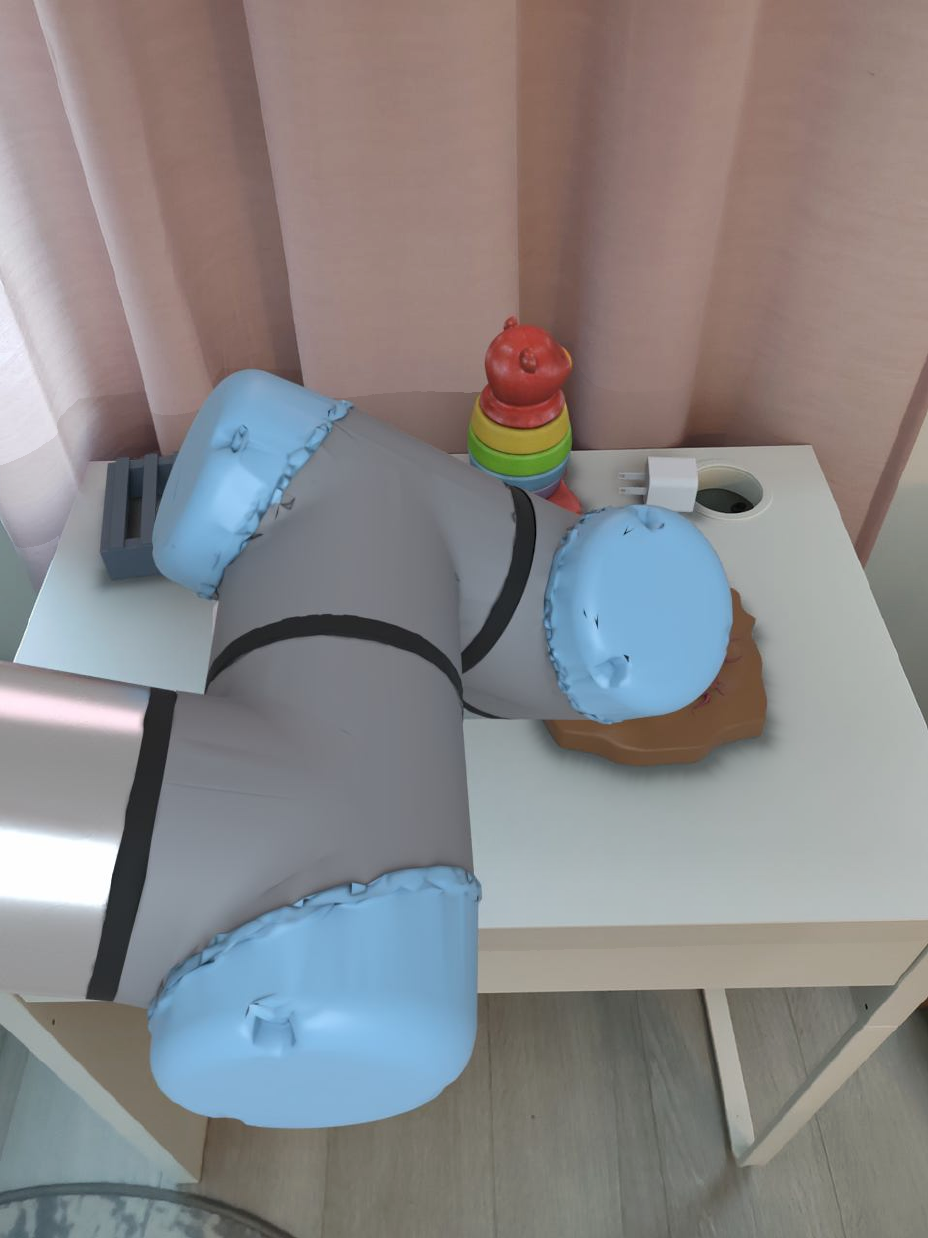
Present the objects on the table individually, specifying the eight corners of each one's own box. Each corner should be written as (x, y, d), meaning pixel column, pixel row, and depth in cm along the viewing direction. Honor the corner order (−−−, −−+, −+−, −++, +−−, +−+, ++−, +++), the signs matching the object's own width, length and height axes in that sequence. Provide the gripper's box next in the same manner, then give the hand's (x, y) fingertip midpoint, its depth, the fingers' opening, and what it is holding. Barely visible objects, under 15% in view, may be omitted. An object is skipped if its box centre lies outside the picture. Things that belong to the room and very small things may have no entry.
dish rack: (111, 580, 88) (98, 548, 85) (118, 491, 96) (106, 459, 93) (292, 556, 90) (285, 523, 87) (284, 470, 98) (278, 438, 95)
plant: (543, 786, 74) (551, 695, 65) (496, 594, 86) (498, 497, 78) (802, 748, 75) (842, 655, 67) (719, 566, 88) (744, 468, 80)
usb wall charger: (691, 515, 92) (698, 483, 89) (616, 513, 93) (621, 480, 90) (688, 487, 95) (694, 454, 92) (615, 485, 95) (619, 452, 92)
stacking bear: (586, 528, 92) (604, 363, 78) (478, 541, 91) (477, 377, 77) (561, 453, 99) (573, 290, 85) (460, 464, 98) (456, 302, 84)
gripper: (312, 855, 43) (181, 815, 62) (636, 585, 53) (437, 623, 72) (214, 711, 41) (111, 716, 60) (567, 462, 51) (382, 534, 71)
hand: (288, 665), depth 66 cm, fingers closed on plastic cup, 9 cm apart
